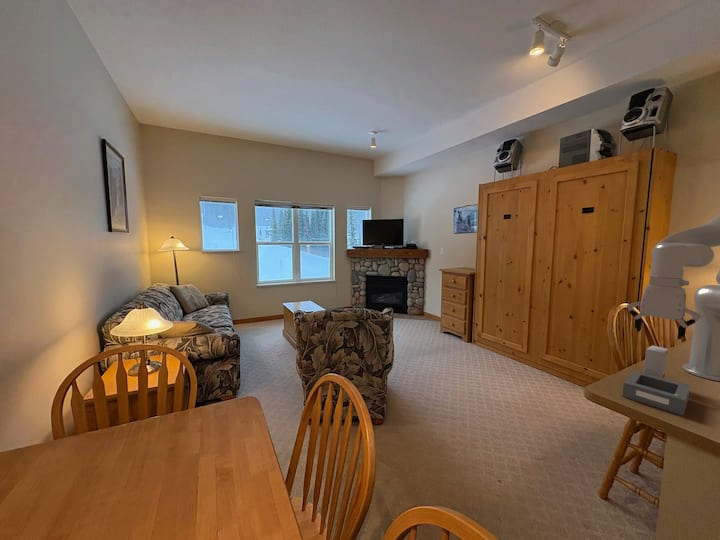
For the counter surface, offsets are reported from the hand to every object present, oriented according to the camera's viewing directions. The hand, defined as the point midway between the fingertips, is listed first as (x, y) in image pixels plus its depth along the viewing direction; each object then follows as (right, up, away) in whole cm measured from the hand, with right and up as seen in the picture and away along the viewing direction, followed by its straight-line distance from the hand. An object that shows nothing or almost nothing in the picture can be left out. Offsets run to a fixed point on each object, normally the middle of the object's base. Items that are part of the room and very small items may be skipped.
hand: (658, 334), depth 101 cm
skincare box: (0, -17, +2) cm, 17 cm away
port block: (-8, -18, -7) cm, 21 cm away
